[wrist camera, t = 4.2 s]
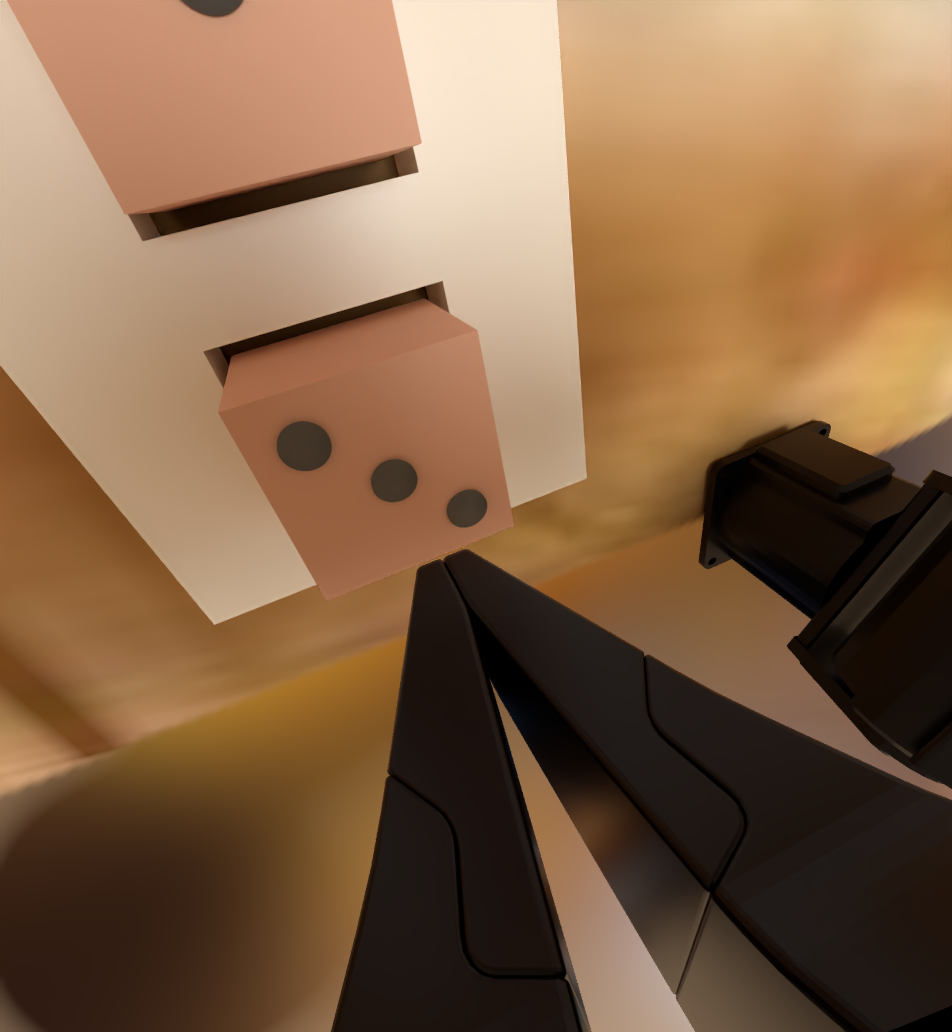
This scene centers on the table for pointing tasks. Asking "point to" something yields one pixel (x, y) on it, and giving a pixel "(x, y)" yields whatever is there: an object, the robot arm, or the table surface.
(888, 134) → the table surface
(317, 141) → the tile one dot
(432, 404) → the tile three dots
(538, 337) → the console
